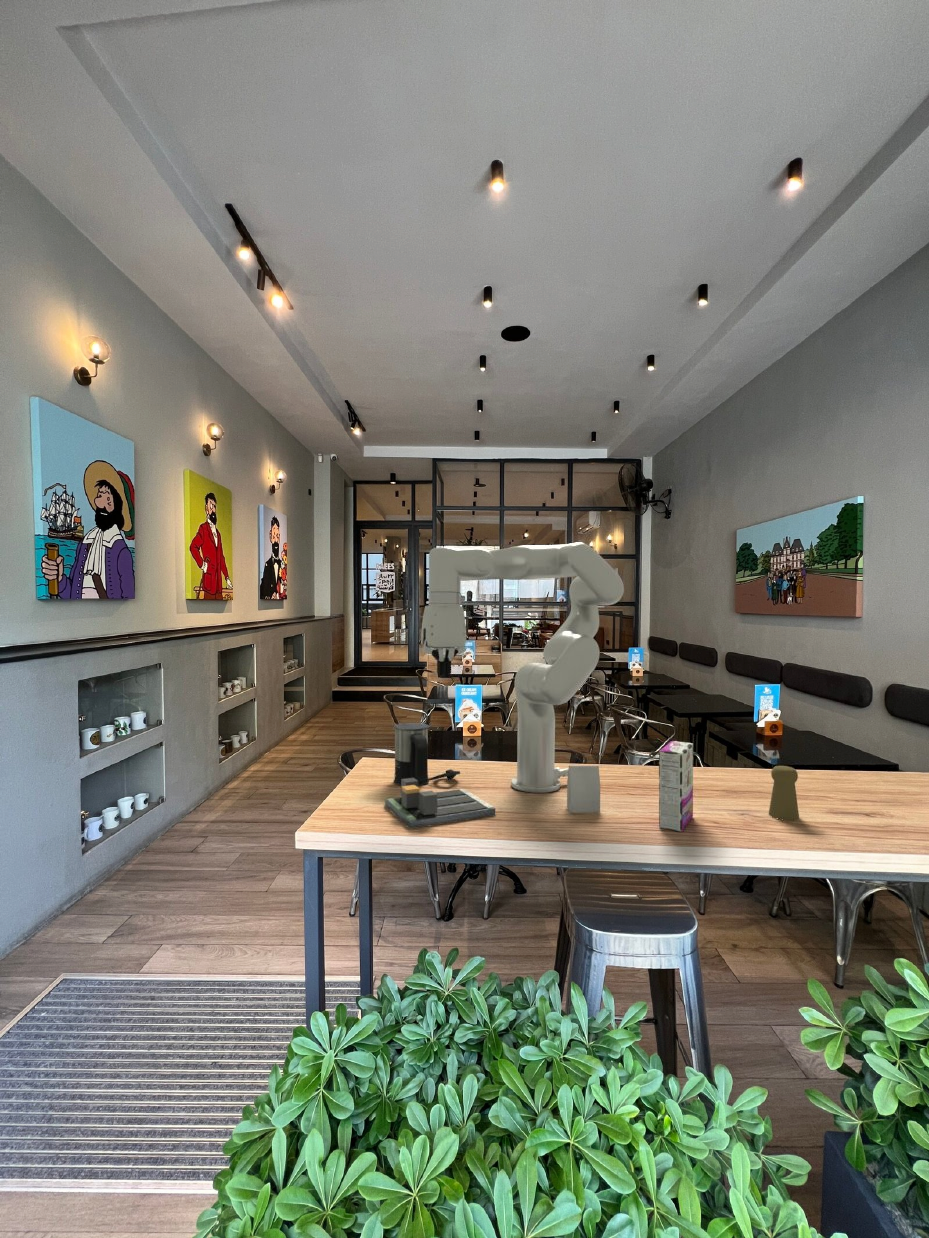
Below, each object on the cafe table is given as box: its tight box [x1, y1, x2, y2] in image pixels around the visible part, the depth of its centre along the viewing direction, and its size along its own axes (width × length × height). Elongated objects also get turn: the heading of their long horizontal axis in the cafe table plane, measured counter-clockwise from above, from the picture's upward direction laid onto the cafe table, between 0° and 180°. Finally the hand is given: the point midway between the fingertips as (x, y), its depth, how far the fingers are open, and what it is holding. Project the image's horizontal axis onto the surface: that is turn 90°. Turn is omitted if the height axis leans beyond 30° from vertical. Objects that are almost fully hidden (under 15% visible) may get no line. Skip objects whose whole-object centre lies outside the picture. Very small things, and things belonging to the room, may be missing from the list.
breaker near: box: [419, 790, 437, 815], centre depth 128 cm, size 3×3×4 cm
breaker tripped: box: [402, 785, 420, 809], centre depth 133 cm, size 3×3×4 cm
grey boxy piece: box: [566, 765, 601, 814], centre depth 137 cm, size 4×7×10 cm, turn 91°
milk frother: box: [393, 722, 461, 786], centre depth 158 cm, size 14×16×15 cm
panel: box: [384, 788, 496, 829], centre depth 136 cm, size 20×16×2 cm
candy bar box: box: [658, 740, 694, 833], centre depth 129 cm, size 11×5×16 cm, turn 148°
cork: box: [768, 765, 800, 822], centre depth 134 cm, size 6×6×11 cm
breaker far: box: [400, 778, 419, 797], centre depth 138 cm, size 3×3×4 cm
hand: (444, 677), depth 143 cm, fingers closed
